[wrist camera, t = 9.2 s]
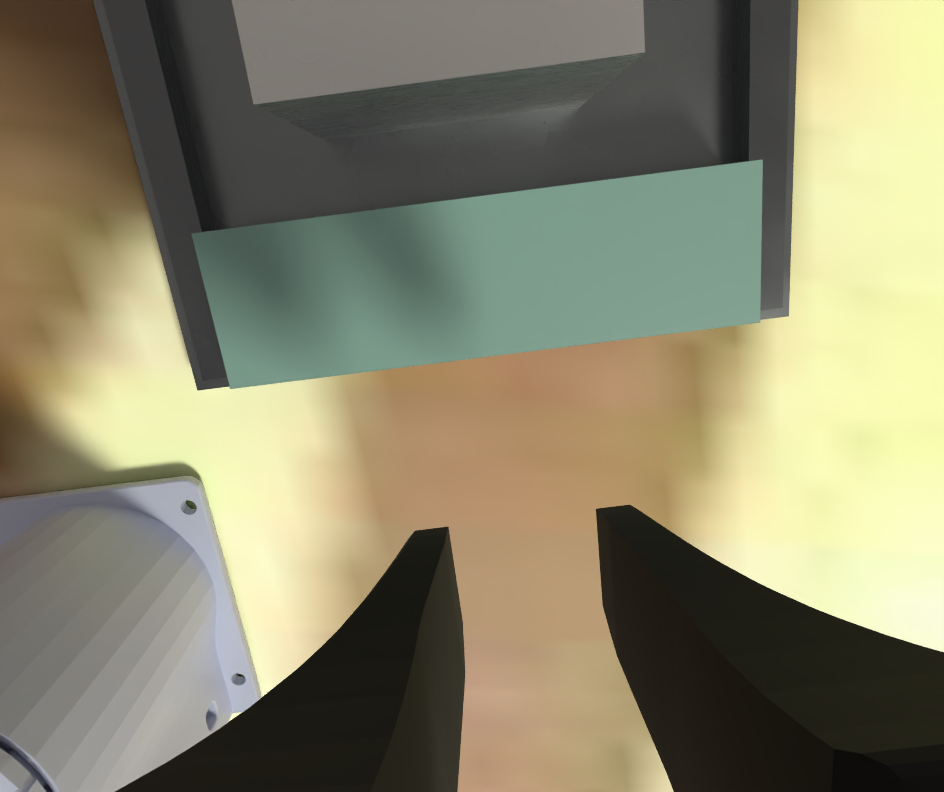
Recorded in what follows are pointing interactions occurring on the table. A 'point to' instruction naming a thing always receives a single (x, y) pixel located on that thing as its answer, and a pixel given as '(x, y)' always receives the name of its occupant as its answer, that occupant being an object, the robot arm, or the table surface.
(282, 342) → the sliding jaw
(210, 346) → the vise bed
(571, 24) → the steel block
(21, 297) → the table surface
